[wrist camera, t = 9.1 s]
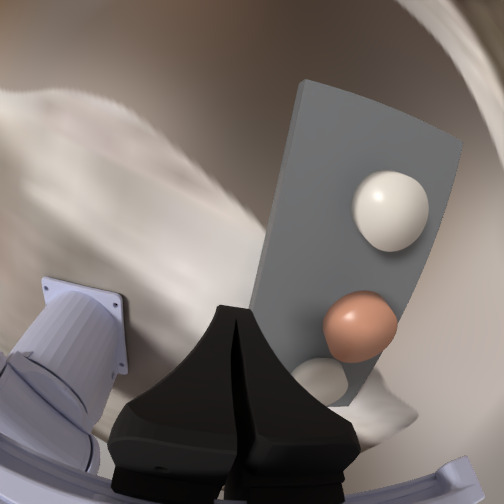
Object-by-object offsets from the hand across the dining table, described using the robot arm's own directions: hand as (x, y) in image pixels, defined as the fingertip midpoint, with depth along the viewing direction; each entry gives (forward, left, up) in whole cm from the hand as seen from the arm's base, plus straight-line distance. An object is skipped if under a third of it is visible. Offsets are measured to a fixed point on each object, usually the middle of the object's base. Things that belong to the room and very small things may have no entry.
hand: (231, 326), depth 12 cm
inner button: (-9, -8, -7) cm, 14 cm away
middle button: (-2, -8, -5) cm, 10 cm away
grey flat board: (-2, -8, -9) cm, 13 cm away
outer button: (+5, -8, -7) cm, 12 cm away
